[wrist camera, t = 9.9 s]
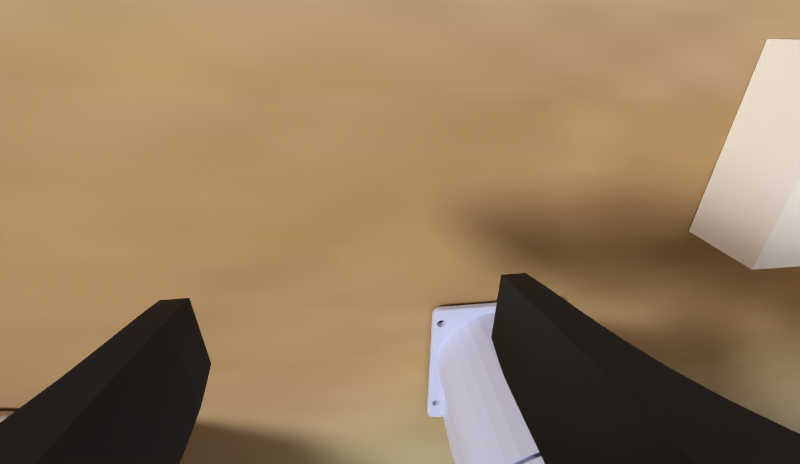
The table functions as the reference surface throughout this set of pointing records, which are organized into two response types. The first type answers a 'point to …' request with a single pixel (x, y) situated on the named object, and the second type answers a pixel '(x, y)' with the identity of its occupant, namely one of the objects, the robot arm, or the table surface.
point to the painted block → (759, 169)
